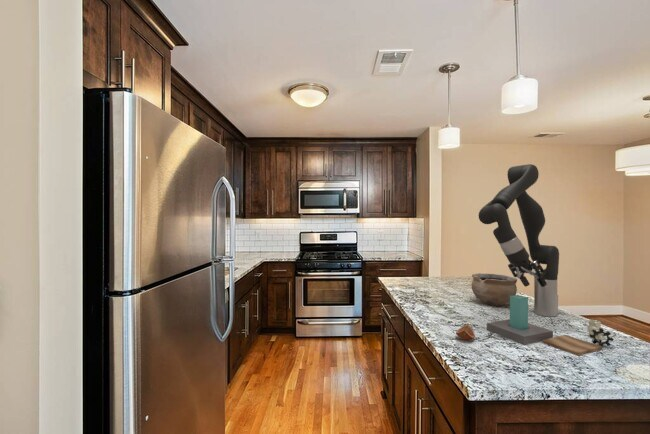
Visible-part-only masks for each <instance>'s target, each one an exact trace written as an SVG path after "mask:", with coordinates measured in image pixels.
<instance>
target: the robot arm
mask: <svg viewBox="0 0 650 434" xmlns="http://www.w3.org/2000/svg"><path fill="white" fill-rule="evenodd" d="M506 175H507V181H508V185H507V186H505V187H502V188H501V190H500V191H498V193H497V194H495V196H494V197H493V199H492V200H490V201H488V203H486V204H485V205H484V206H483V207H481V209H479V212H478V220H479V221H480V222H481V223H482V224H484V225H492V224H493V223H494V224H495V223H497V227H496V228H495V229H493V231H492V234H493V236H494V238H495V239H496V241H497V242H498V245H499V247H500V249H501V251H502V252H503V254H504V256H505V257H506V258H507V260H508V263H509V264H507V267H508V269H509V271H510V272H511V275H512V276H513V278H517V279H519V281H520V282H521V284H522V285H523V286H524V287H525V288H526V287H529V286H530V282H529V280H528V279H527V276H525V274H529V275H530V276H533V281H534V282H533V287H534V290H533V294H534V295H533V296H534V297H533V301H534V302H533V303H534V304H533V312H534V313H535V314H536V315H539V316H544V317H552V318H553V317H554V318H555V317H558V315H559V294H558V275H559V264H560V252H559V251H560V250H559V248H558V247H557V246H555V245H549V244H548V245H547V244H540V239H539V237H540V234H541V232H542V230H543V229H544V227H545V225H546V217H545V213H544V210H543V207H542V205H540V203H538V202H537V201H536V200H535V199H534V198H532V196H530V195H529V194H528V192H527V190H529V188H531V187H532V186H534V184H536V183H537V181H538V178H539V176H540V175H539V169H538V167H537V165H535V164H522V165H514V166H511V167H509V168H508V170H507V174H506ZM515 201H516V204H517V208H518V211H519V215H520V219H521V223H522V225H523V229H524V232H525V236H526V240H527V245H528V247H527V248H528V251H529V252H528V251H527V249H526V247H525V246H524V244H523V243H522V241H521V240H520V238H519V237H518V236H517V234H516V233H515V231H514V229H513V227H512V225H511V221H510V217H509V214H508V210H509V208H510V207H511V206H512V204H513V203H514V202H515ZM530 258H531V260H532V261H531V260H530ZM542 265H546V267H545V268H543V267H542Z"/></svg>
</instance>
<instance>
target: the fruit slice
mask: <svg viewBox="0 0 650 434" xmlns="http://www.w3.org/2000/svg"><path fill="white" fill-rule="evenodd" d="M455 334H456V336H457V337H459V338H460V339H461V340H465V341H471V340H474V339H476V334H475V332H474V330H473V329H472V327H471V326H470V324H469V323H467V324H465V325H463V326H461V327H460V328H459V329H457V330H456V332H455Z"/></svg>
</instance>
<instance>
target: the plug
mask: <svg viewBox="0 0 650 434" xmlns="http://www.w3.org/2000/svg"><path fill="white" fill-rule="evenodd" d="M509 319H510V327H513V328H516V329H519V330H524V329H528V323H529V296H528V297H527V296H523V295H519V294H516V295H513V296H510V302H509Z"/></svg>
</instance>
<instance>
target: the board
mask: <svg viewBox="0 0 650 434" xmlns="http://www.w3.org/2000/svg"><path fill="white" fill-rule="evenodd" d="M541 344H544V345H546V346H550V347H552V348H556V349H558V350H561V351H564V352H567V353H568V354H569V353H570V354H573V355H575V356H577V357H579V356H583V355H586V354H590V353H594V352H598V351H601V350H603V348H604V346H603V347H602V346H599V344H597V343H596V344H594V343H593V342H589V341H586V340H583V339H579V338H577V337H573V336H570V335H567V334H564V335H560V336H559V335H558V336H555V337H554V336H553V338H549V339H544V340H542V341H541Z"/></svg>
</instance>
